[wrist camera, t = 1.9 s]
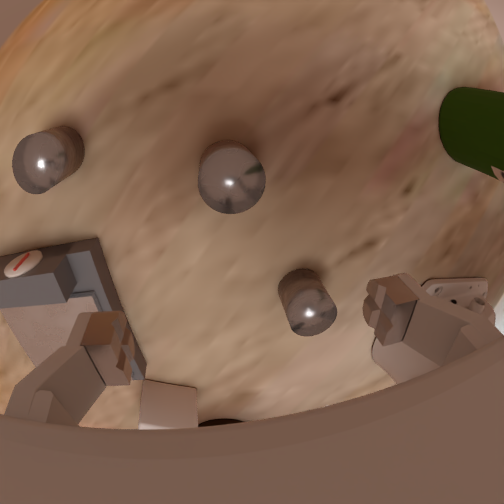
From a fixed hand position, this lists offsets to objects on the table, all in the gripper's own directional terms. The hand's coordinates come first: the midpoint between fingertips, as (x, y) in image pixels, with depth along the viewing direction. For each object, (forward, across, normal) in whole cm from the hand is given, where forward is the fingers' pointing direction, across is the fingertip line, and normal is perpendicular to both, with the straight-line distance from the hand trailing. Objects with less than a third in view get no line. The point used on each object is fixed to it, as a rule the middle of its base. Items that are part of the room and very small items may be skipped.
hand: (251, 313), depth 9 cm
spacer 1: (+17, +13, -4) cm, 22 cm away
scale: (+17, +18, +13) cm, 28 cm away
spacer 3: (+17, -7, +12) cm, 22 cm away
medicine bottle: (+18, +10, +28) cm, 35 cm away
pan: (+15, +19, +14) cm, 28 cm away
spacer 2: (+17, -1, -1) cm, 17 cm away
